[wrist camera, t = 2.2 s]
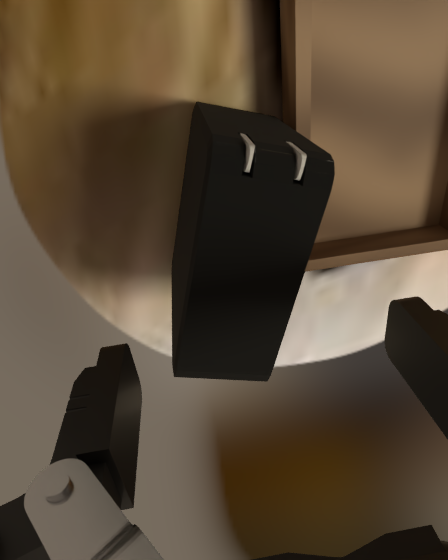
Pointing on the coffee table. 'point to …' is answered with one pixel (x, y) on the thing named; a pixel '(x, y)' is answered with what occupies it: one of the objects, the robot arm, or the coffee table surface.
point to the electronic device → (242, 240)
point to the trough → (372, 121)
